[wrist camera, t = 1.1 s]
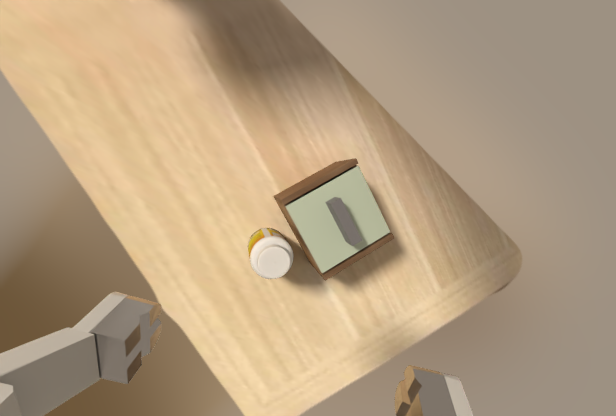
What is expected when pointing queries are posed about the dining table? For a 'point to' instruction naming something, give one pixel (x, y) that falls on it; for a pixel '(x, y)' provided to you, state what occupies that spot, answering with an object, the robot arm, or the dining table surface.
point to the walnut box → (310, 185)
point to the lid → (338, 219)
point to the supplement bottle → (270, 253)
